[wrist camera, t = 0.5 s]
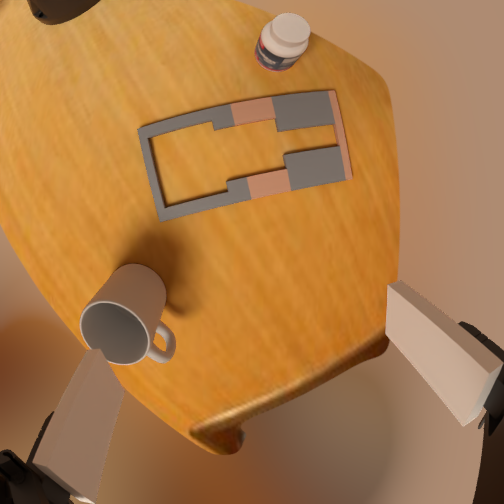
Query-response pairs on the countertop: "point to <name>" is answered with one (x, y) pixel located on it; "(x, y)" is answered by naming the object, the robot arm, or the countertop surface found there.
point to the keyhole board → (296, 164)
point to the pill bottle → (282, 42)
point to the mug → (128, 317)
